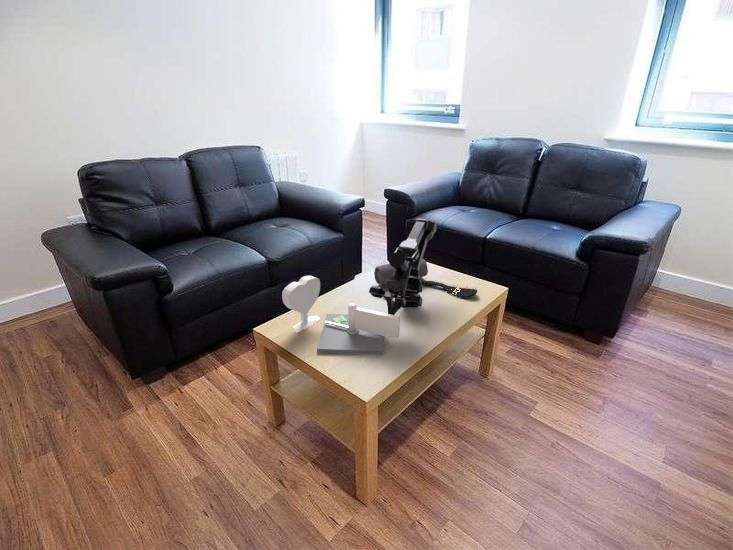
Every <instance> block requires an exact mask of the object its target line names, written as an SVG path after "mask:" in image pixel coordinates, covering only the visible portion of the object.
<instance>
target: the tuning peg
mask: <svg viewBox="0 0 733 550" xmlns="http://www.w3.org/2000/svg"><path fill="white" fill-rule="evenodd" d="M357 305H358V304H357V303H355V302H349V303H348V304H347V314H348V324H349V326H346V325H341V324H337V323H333V322H329V321H325V320H324V322H325V323H326V324H331V325H335V326H339V327H343V328H347V329H349V331H351V332H354V331H356V330H357V329H358V330H362V331H366V332H370V333H374V334H379V335H383V336H384V337H388V338H392V339H396V340H397V339H399V337H400V319H401V318H400V317H401V316H399V315H396V314H395V315H391V314H388V313H385V312H381V311H376V310H371V309H367V308H362V307H358V306H357Z"/></svg>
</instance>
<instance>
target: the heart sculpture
mask: <svg viewBox="0 0 733 550" xmlns="http://www.w3.org/2000/svg"><path fill="white" fill-rule="evenodd" d="M320 291H321V281H320V278H317V277H315V276H313V275H304V276H302V277H301V278H300V279H299V280H298V281H292V282H290V283H289V284H288V285H286V286H285V287H284V289H283V290H282V292H281V299H282V303H283V304H284V305H285V307H286V308H288V309H290V310H291V311H292V310H293V311H294V312H298V313H300V320H301V322H300V321H299V322H297V323H298V324H297V323H296V325H295V324H294V325H295V326H294V325H292V326H293V328H294V329H295V330H296V331H301V330H303V329H304V330H306V329H308V328H309V327H311V326H312V325H314V324H315V323H317V322H319V321H320V320H321V317H320V316H318V315H315V316H310V315H309V316H308V314H309V312H310V310H311V309H312V307H313V306H314V304H315V303H316V301H317V300H318V298H319V294H320ZM318 320H319V321H318ZM313 323H314V324H313ZM308 326H309V327H308ZM305 328H306V329H305ZM304 330H303V331H304ZM301 332H302V331H301Z"/></svg>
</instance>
